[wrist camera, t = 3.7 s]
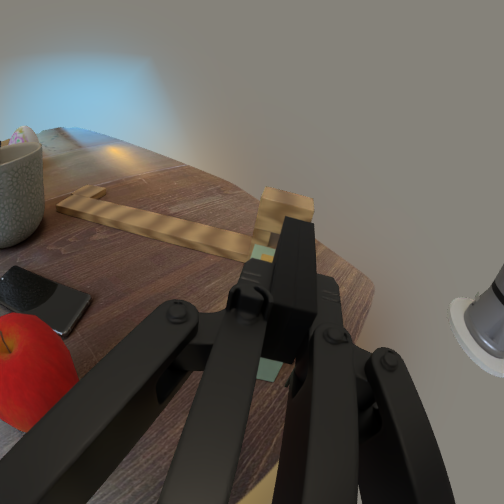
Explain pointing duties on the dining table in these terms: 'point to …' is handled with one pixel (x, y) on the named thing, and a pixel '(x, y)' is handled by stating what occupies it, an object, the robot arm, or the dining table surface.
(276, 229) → the wooden beam with block
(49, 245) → the dining table surface
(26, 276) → the smartphone
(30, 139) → the decorative egg
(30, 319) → the apple
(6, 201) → the planter
